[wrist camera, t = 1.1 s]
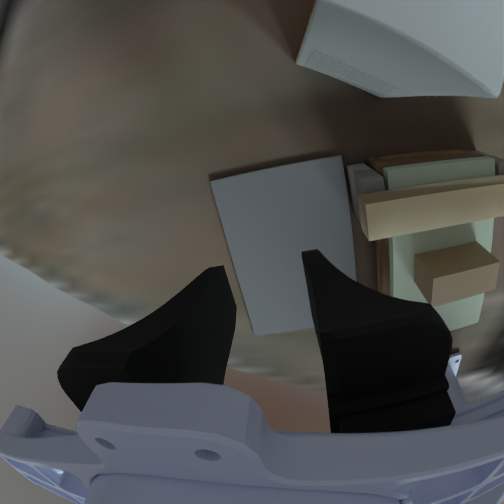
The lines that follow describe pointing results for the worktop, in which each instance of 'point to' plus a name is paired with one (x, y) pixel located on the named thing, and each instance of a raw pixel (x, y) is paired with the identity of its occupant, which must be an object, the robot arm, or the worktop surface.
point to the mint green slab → (444, 248)
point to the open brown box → (373, 181)
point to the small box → (408, 46)
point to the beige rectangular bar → (430, 206)
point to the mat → (284, 235)
